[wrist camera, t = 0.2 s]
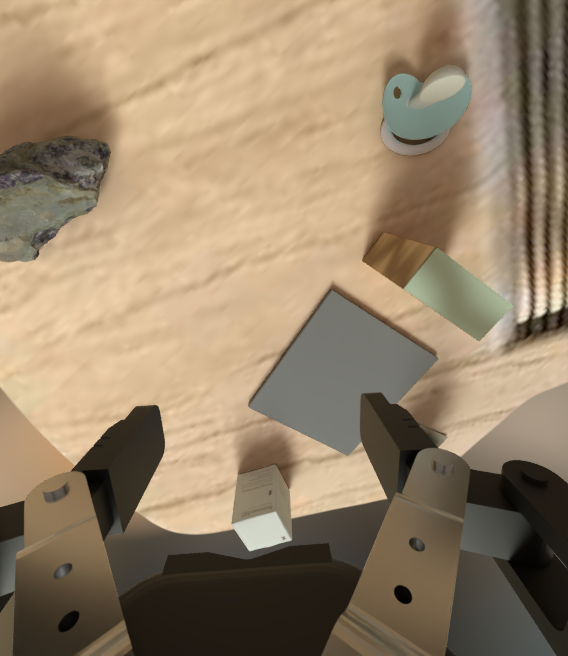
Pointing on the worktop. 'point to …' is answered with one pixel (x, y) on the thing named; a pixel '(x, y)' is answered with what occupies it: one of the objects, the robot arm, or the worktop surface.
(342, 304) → the mat
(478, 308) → the block
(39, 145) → the mineral rock
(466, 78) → the pacifier
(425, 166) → the worktop surface
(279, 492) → the product box
